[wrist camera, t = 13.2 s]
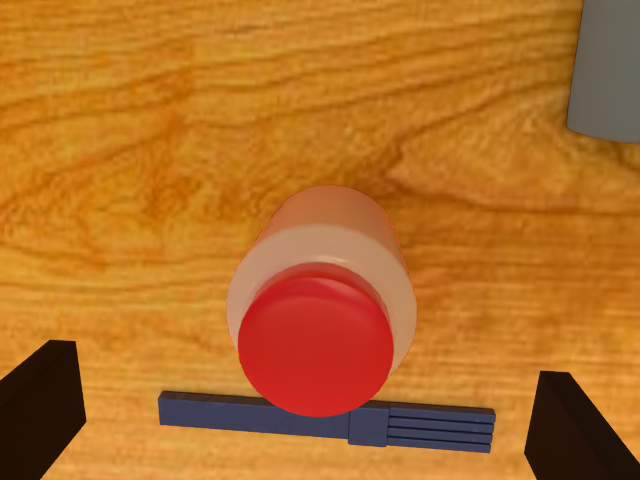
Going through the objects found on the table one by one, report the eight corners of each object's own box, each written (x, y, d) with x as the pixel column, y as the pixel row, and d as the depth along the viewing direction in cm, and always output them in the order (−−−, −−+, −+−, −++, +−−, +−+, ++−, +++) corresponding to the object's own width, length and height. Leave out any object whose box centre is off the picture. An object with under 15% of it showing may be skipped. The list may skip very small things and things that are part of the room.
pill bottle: (427, 235, 26) (475, 326, 16) (348, 337, 28) (344, 478, 18) (310, 156, 26) (279, 198, 15) (238, 268, 28) (166, 373, 17)
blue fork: (164, 422, 31) (159, 430, 30) (162, 385, 30) (157, 392, 30) (487, 446, 30) (491, 456, 29) (493, 408, 29) (497, 417, 28)
